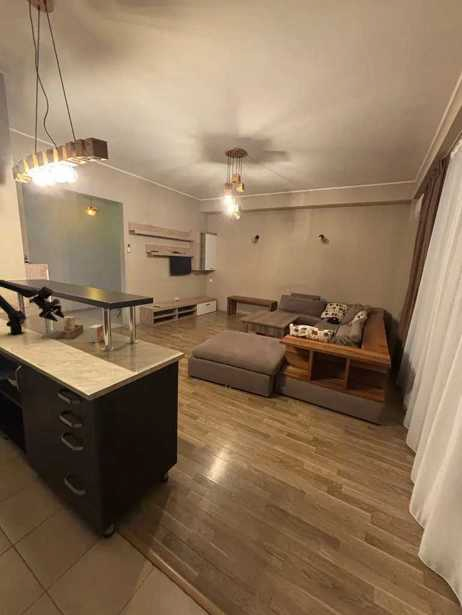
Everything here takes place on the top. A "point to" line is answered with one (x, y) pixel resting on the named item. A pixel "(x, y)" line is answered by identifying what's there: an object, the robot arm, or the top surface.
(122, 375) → the top surface
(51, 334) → the slate mat
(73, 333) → the walnut crate
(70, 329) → the ash block
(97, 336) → the small box
